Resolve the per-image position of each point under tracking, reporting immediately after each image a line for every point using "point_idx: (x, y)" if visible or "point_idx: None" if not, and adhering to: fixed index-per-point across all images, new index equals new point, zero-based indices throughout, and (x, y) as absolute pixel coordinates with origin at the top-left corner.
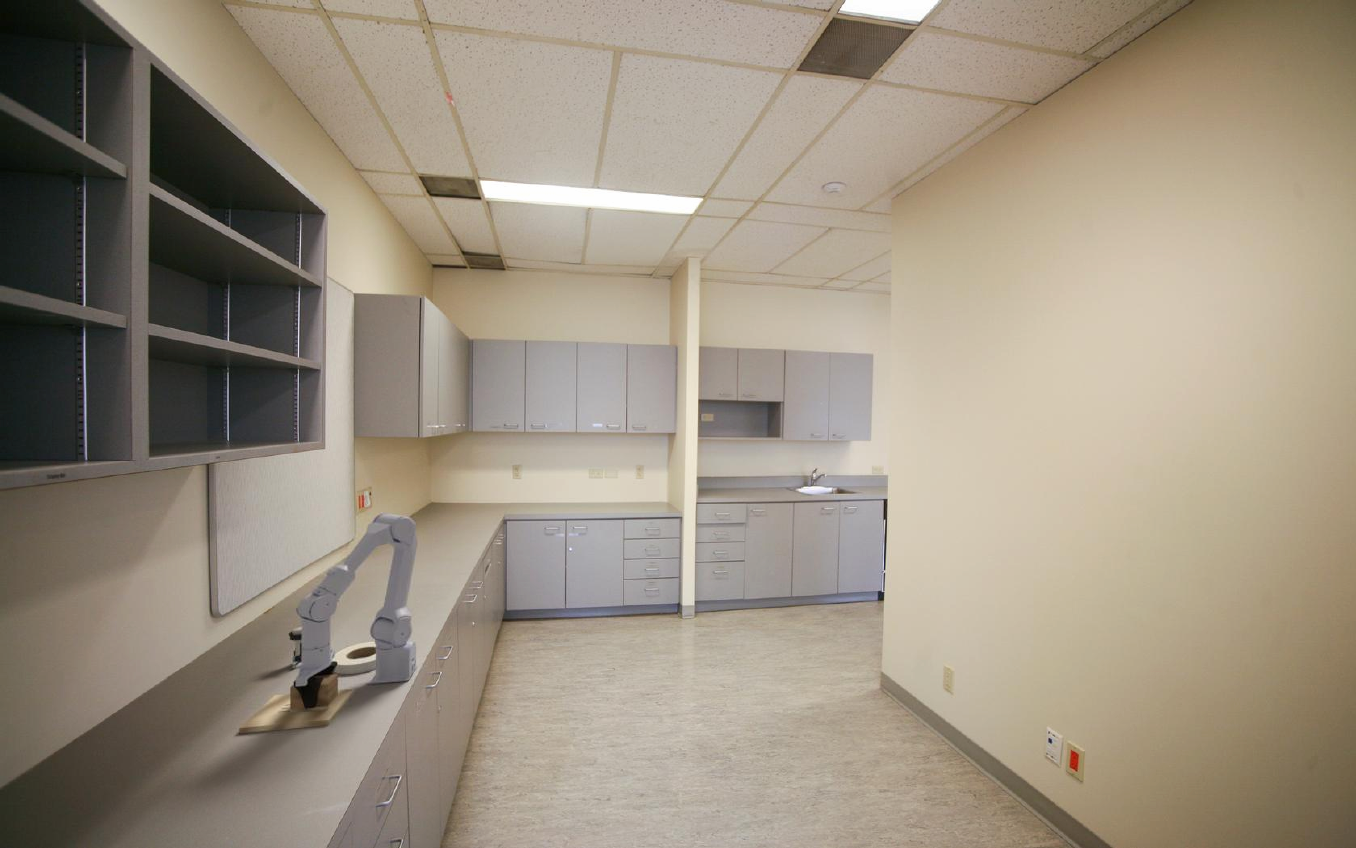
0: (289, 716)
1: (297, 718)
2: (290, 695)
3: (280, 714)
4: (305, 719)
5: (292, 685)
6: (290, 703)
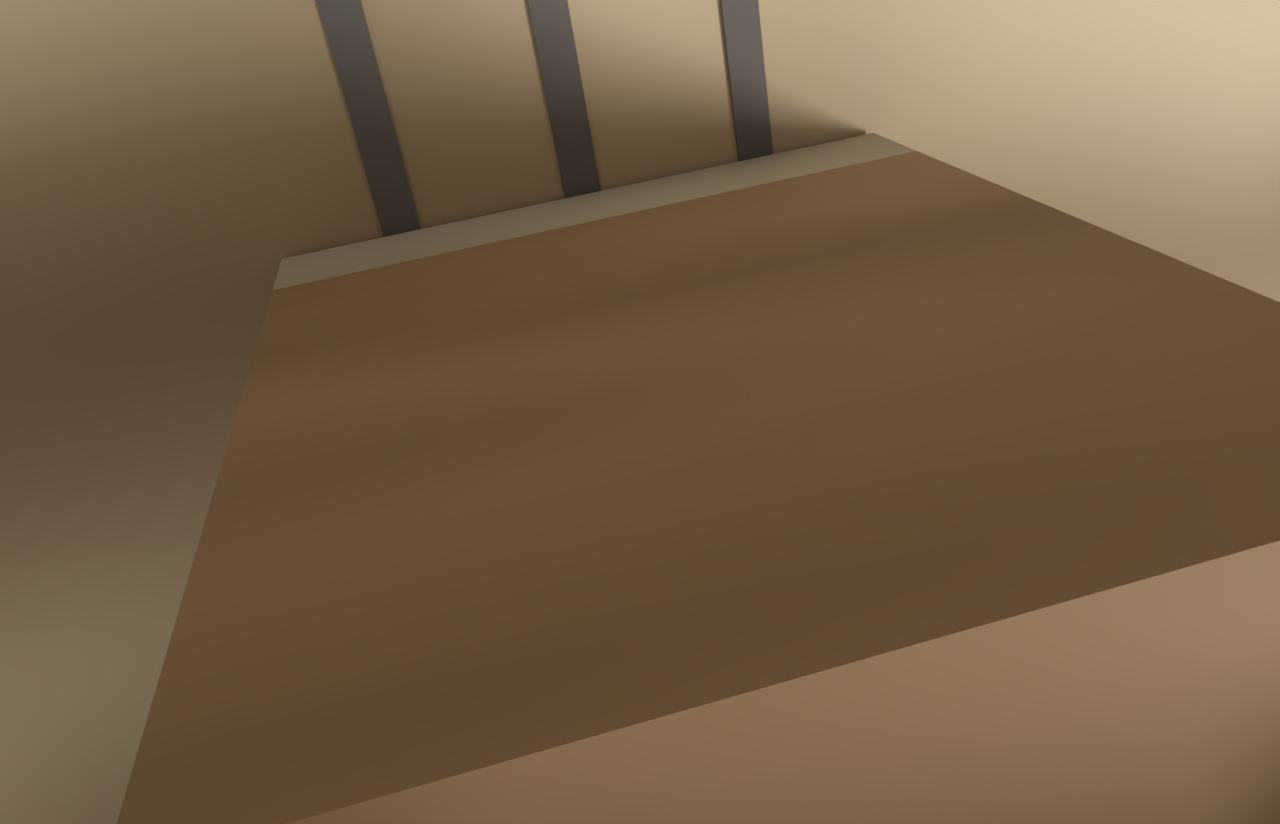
0: (112, 367)
1: (63, 630)
2: (217, 522)
3: (166, 6)
4: (73, 808)
5: (420, 797)
6: (258, 366)
